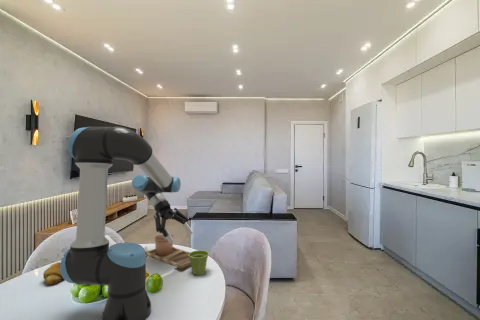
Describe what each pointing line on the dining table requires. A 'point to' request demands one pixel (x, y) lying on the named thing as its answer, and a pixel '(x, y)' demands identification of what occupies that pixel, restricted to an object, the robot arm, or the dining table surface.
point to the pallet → (173, 258)
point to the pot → (163, 245)
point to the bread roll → (53, 274)
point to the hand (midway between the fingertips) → (182, 237)
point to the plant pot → (198, 261)
